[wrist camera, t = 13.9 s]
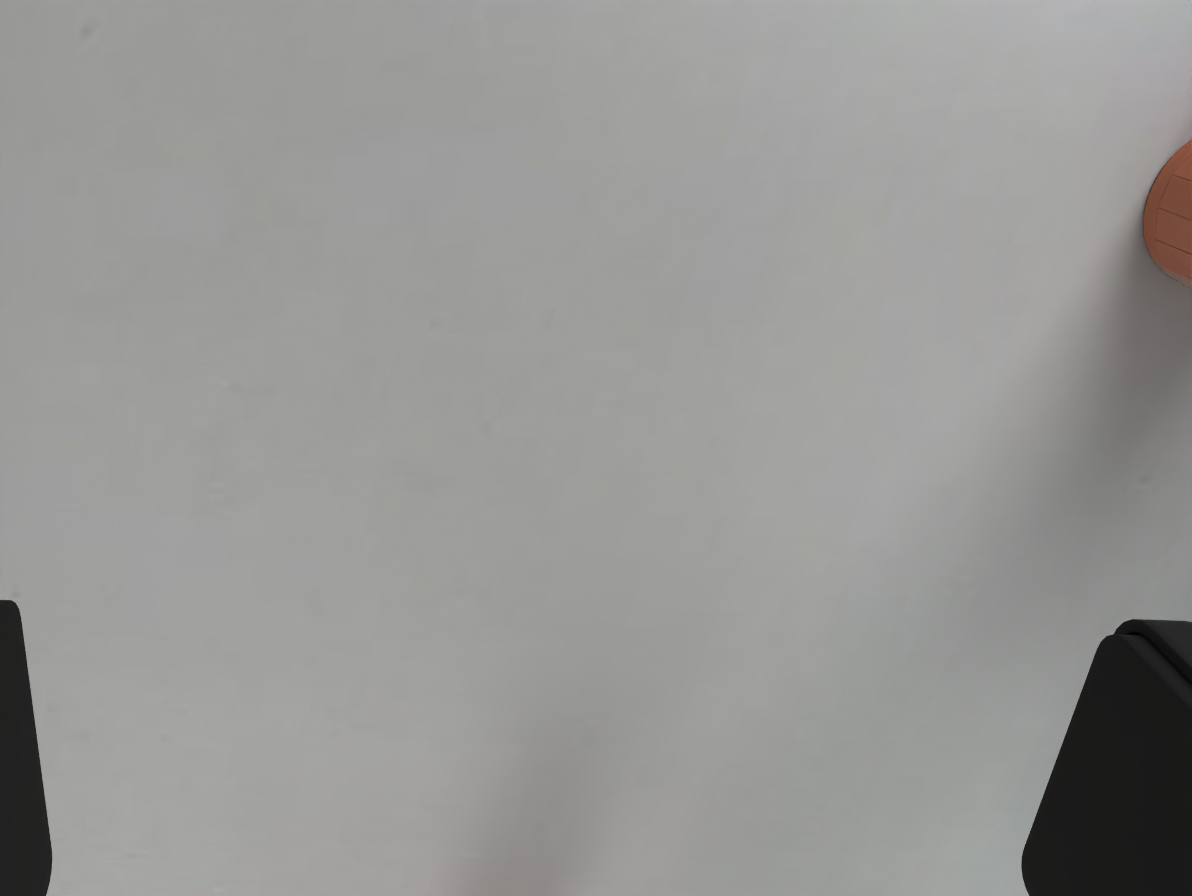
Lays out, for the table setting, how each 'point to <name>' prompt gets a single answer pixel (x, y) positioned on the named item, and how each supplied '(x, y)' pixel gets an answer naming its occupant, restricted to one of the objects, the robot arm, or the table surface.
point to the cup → (1172, 217)
